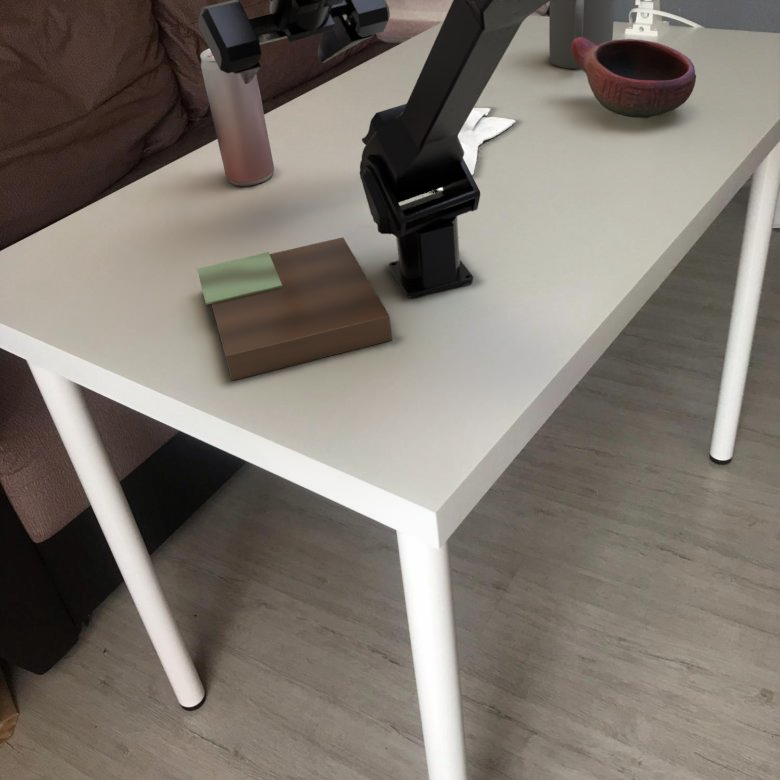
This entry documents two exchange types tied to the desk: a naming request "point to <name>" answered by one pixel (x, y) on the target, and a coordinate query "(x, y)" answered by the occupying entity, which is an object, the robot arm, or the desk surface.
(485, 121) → the cloth
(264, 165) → the beverage can
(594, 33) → the mug
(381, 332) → the brown wooden board
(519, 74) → the desk surface
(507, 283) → the desk surface
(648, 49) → the bowl
